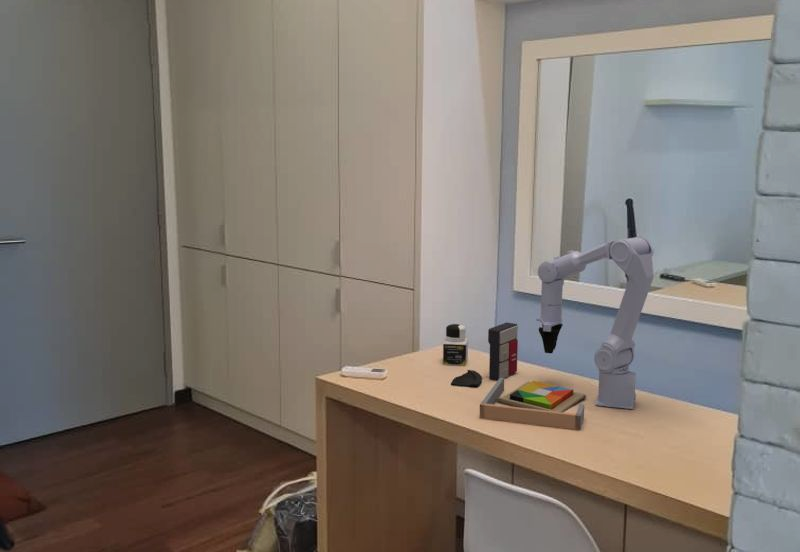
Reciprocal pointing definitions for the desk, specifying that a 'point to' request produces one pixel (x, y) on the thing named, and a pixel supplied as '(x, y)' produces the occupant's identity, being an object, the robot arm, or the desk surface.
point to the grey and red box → (503, 350)
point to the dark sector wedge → (468, 379)
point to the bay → (527, 412)
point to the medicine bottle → (455, 346)
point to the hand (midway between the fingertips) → (549, 350)
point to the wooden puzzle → (542, 397)
